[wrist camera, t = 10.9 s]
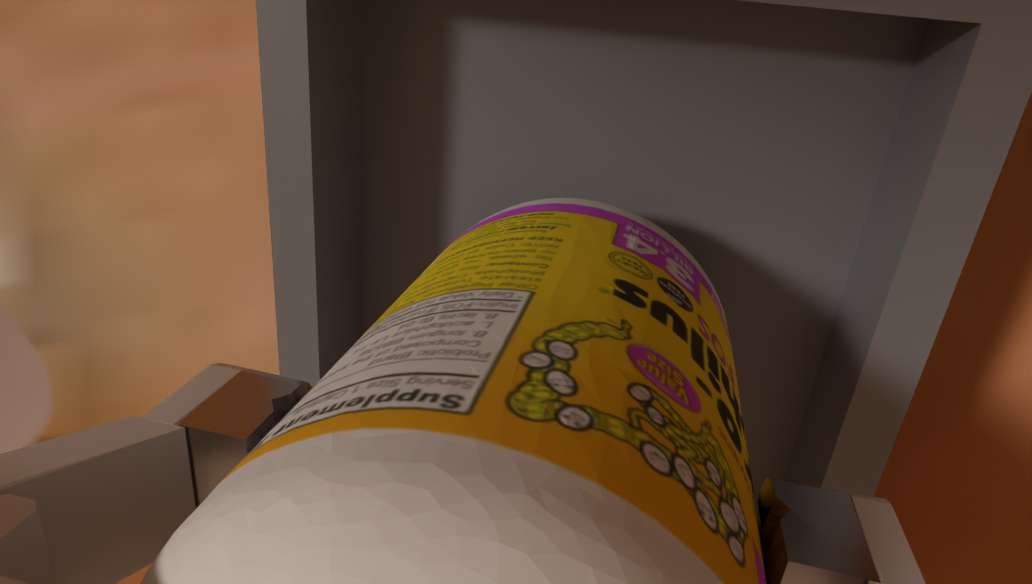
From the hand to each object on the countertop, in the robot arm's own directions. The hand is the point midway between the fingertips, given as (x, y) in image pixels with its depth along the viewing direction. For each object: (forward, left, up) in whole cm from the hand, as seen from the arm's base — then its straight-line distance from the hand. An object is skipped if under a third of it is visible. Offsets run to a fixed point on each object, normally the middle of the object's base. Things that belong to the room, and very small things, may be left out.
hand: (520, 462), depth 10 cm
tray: (0, 0, -7) cm, 7 cm away
